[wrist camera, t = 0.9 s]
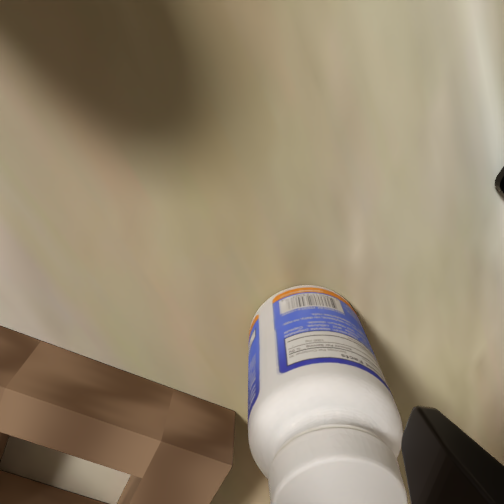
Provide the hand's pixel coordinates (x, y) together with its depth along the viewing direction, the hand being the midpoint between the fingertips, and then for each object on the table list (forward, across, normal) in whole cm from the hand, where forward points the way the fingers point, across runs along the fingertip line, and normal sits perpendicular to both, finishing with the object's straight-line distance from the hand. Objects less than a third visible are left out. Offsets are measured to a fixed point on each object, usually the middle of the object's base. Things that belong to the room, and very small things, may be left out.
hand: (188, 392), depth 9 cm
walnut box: (+12, +6, +15) cm, 20 cm away
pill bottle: (+12, -4, +6) cm, 14 cm away
